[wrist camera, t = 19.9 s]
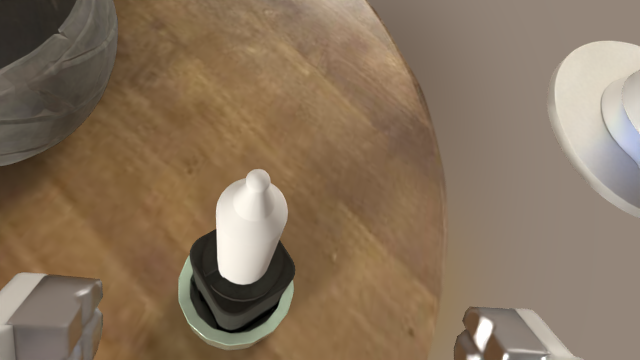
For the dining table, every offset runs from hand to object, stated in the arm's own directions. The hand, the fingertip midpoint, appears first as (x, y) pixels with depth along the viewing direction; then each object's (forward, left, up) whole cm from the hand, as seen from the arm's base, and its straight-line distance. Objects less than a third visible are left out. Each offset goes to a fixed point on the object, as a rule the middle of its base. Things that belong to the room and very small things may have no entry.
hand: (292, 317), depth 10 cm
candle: (+2, -5, -29) cm, 29 cm away
